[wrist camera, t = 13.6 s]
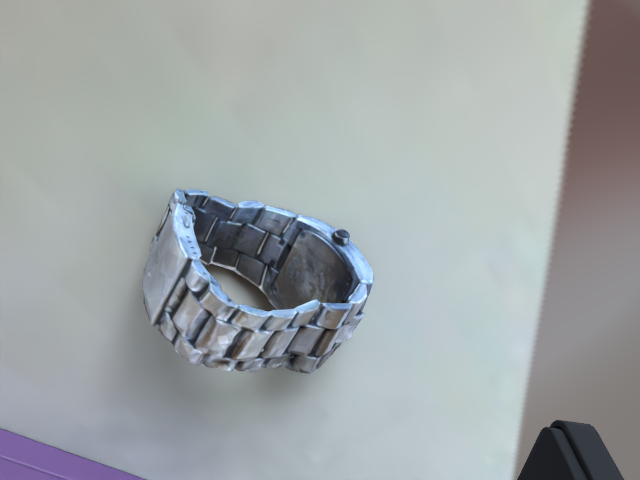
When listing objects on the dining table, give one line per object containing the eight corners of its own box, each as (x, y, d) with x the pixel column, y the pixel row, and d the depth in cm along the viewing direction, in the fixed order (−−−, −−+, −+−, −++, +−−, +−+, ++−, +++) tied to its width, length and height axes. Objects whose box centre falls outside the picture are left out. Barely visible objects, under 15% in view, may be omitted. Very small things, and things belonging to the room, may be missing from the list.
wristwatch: (240, 254, 18) (348, 370, 15) (87, 244, 14) (199, 402, 11) (290, 169, 17) (414, 278, 14) (141, 131, 13) (278, 274, 10)
